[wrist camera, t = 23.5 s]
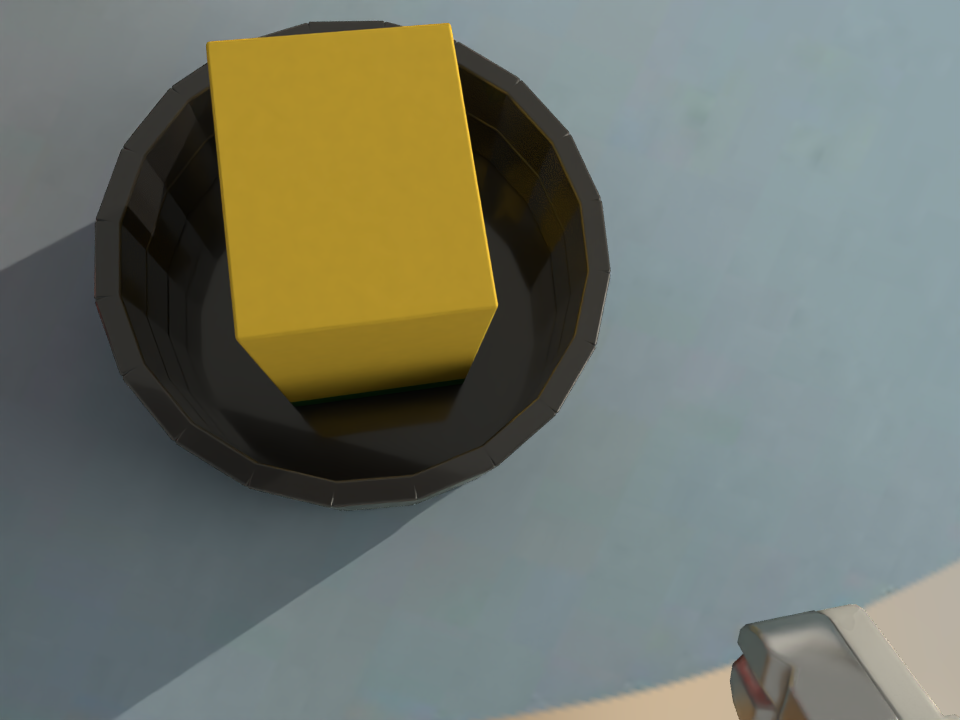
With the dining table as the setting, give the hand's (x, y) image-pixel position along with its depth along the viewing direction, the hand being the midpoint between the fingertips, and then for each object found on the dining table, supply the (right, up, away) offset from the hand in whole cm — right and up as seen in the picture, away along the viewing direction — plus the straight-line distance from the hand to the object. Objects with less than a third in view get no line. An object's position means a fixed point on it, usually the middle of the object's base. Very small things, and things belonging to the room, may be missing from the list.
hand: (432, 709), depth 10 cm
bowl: (-3, +6, +13) cm, 15 cm away
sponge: (-3, +6, +13) cm, 15 cm away
